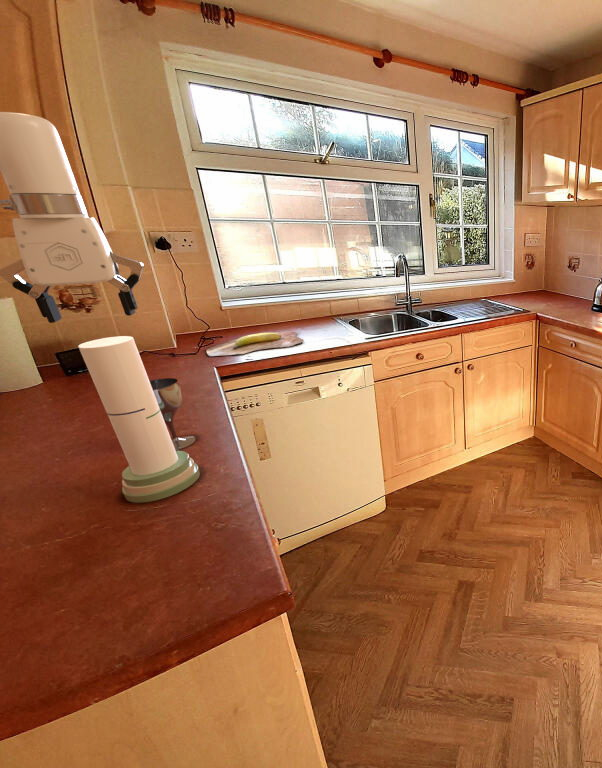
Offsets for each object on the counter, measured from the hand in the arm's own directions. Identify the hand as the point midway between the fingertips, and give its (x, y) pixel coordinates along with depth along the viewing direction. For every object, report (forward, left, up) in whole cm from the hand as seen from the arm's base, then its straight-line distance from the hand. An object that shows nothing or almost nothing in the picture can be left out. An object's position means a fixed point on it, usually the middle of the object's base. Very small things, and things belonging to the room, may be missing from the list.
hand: (94, 317), depth 71 cm
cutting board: (-54, +89, -34) cm, 109 cm away
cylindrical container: (0, 0, -30) cm, 30 cm away
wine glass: (-12, +14, -34) cm, 39 cm away
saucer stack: (0, 0, -34) cm, 34 cm away
